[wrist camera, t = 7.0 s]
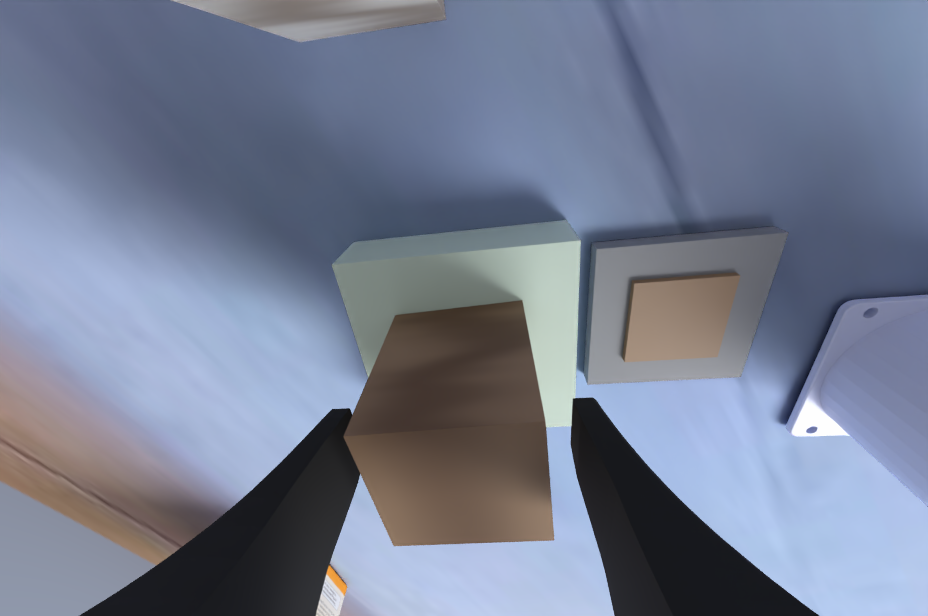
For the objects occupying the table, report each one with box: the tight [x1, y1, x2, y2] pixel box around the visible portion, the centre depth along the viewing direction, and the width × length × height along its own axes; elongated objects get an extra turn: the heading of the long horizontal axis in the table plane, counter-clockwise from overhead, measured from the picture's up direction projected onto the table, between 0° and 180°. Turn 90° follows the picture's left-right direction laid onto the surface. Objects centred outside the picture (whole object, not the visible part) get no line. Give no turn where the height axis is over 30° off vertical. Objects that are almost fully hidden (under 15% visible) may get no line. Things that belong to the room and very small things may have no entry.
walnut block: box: [343, 300, 554, 546], centre depth 13 cm, size 5×5×6 cm
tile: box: [584, 226, 789, 385], centre depth 16 cm, size 7×7×1 cm
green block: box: [332, 220, 581, 427], centre depth 16 cm, size 9×9×3 cm
